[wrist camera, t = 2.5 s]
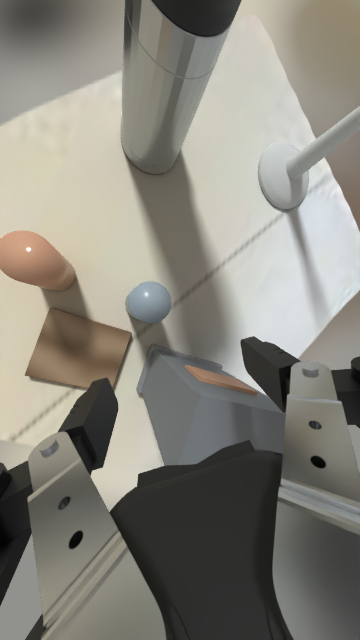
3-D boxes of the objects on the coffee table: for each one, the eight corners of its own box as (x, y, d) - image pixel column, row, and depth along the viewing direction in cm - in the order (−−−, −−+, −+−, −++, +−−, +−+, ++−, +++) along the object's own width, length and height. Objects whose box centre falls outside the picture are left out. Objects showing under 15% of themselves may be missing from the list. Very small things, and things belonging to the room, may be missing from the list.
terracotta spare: (43, 250, 28) (6, 221, 18) (80, 264, 29) (63, 244, 20) (31, 283, 28) (-14, 270, 18) (68, 295, 29) (46, 290, 20)
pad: (51, 308, 29) (49, 308, 28) (130, 332, 32) (131, 332, 31) (27, 373, 28) (24, 375, 27) (110, 389, 32) (110, 392, 31)
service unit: (151, 344, 34) (200, 394, 14) (218, 364, 38) (325, 422, 19) (136, 388, 33) (165, 503, 14) (205, 403, 38) (301, 505, 18)
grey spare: (131, 284, 32) (137, 274, 22) (159, 295, 34) (176, 290, 24) (121, 313, 32) (123, 315, 22) (149, 322, 33) (163, 328, 24)
